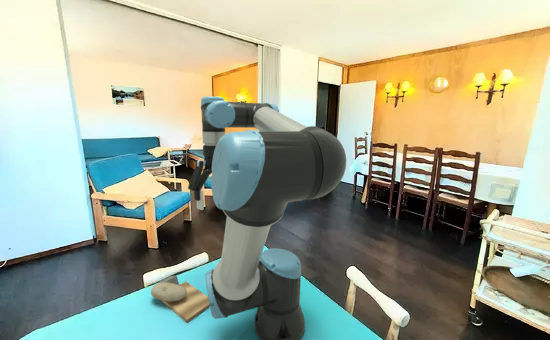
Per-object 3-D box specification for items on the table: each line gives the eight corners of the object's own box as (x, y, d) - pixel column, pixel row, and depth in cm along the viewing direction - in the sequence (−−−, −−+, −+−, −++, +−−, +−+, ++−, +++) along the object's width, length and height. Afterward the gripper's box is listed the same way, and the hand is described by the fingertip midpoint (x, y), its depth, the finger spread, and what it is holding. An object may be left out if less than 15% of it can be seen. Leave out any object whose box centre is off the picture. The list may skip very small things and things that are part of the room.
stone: (182, 300, 76) (145, 291, 75) (182, 309, 79) (146, 300, 79) (190, 283, 81) (155, 274, 80) (189, 292, 84) (155, 284, 84)
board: (213, 303, 80) (213, 300, 80) (187, 323, 72) (186, 319, 72) (185, 284, 90) (185, 281, 89) (159, 299, 82) (159, 296, 81)
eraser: (179, 285, 87) (176, 275, 87) (166, 293, 83) (163, 283, 83) (173, 284, 89) (171, 275, 89) (160, 292, 85) (158, 282, 85)
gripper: (233, 141, 94) (234, 193, 98) (174, 146, 74) (178, 211, 78) (247, 142, 89) (248, 197, 93) (188, 148, 70) (192, 217, 74)
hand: (216, 203), depth 86 cm, fingers open, 13 cm apart
